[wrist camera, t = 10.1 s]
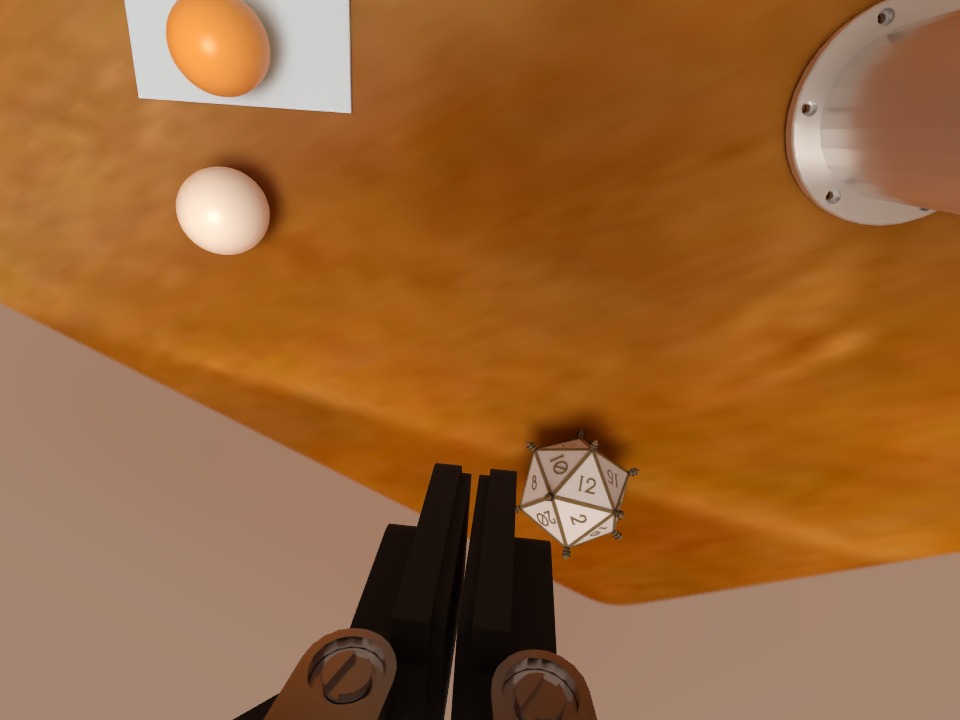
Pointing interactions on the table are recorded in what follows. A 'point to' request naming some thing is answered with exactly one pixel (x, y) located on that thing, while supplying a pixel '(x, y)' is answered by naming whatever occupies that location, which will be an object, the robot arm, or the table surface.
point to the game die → (574, 492)
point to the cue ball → (222, 210)
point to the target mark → (293, 56)
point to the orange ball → (218, 45)
